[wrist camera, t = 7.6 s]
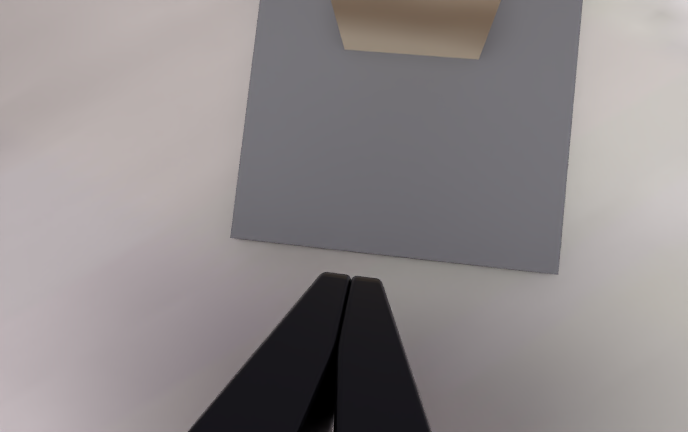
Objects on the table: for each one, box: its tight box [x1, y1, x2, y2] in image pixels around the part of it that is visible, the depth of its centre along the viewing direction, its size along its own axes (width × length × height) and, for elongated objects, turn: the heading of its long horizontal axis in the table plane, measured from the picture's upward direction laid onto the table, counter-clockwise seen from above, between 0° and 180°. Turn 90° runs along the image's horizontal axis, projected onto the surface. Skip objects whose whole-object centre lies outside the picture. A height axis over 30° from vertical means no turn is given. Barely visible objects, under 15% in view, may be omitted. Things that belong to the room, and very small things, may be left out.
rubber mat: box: [230, 0, 583, 274], centre depth 22 cm, size 16×12×1 cm
